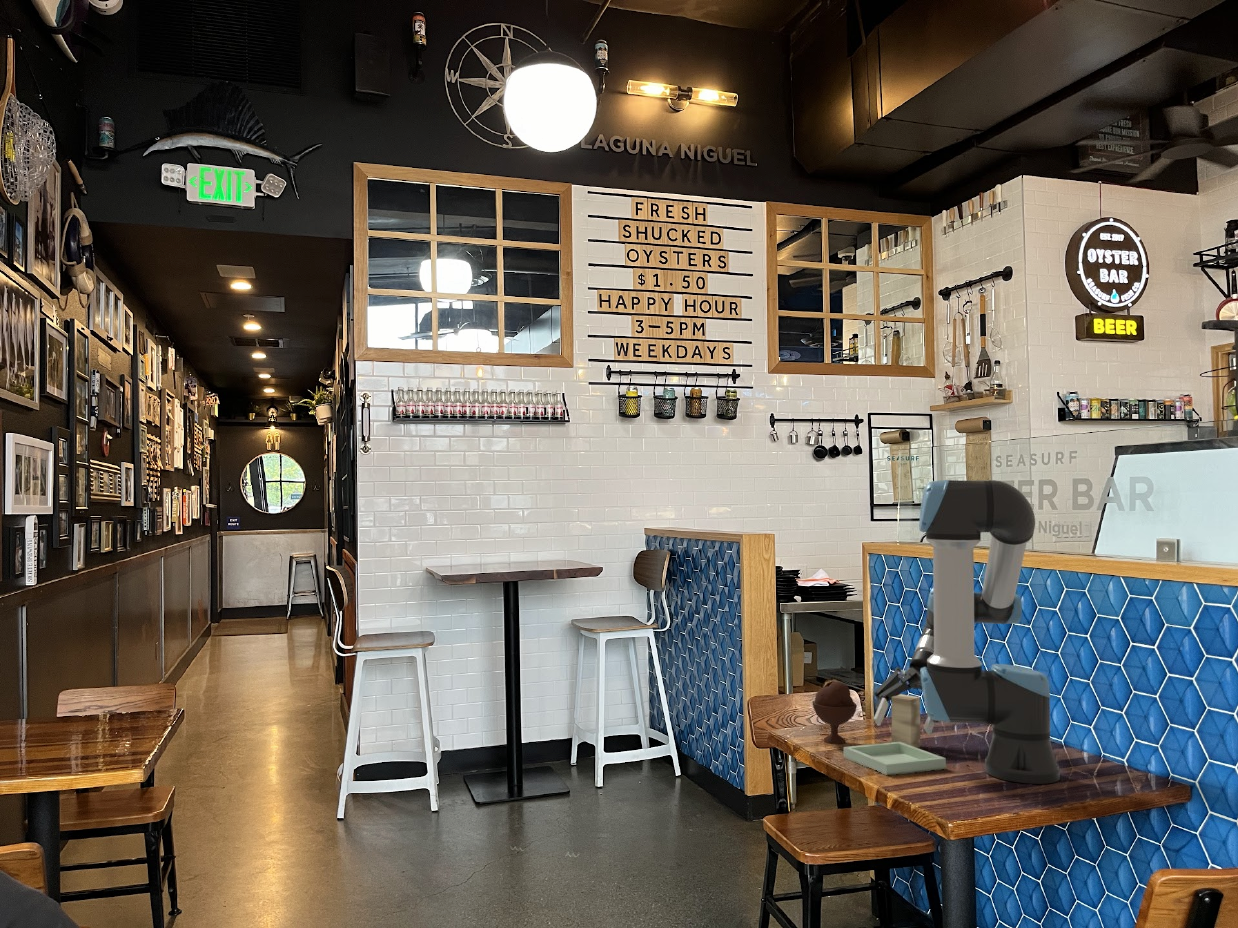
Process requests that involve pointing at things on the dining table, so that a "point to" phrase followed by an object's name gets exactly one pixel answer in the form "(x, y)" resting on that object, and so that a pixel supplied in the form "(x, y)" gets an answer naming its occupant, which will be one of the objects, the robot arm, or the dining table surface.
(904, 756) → the tray
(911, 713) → the block
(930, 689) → the robot arm
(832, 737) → the ice cream bowl
